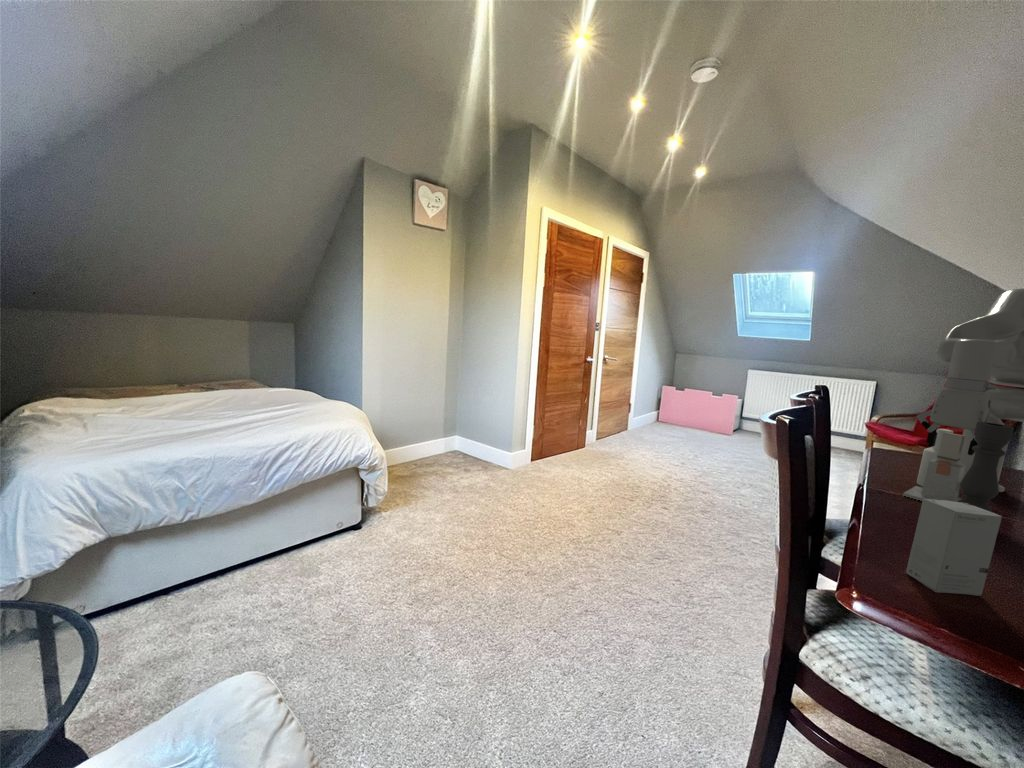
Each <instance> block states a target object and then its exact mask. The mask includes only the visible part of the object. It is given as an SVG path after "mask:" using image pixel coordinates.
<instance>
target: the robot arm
mask: <svg viewBox="0 0 1024 768" xmlns="http://www.w3.org/2000/svg"><path fill="white" fill-rule="evenodd" d="M936 351H937V352H936V356H937V359H938V360H939V361H940V362H941V363H942V364H945V365H949V368H948V373H947V375H946V376H947V377H946V381H945V385H944V388H943V387H941V388H940V390H939V391H938V394H937V396H936V399H935V401H934V404H933V406H932V409H929V410H926V411H924V412H922V413H919V414H917V415H916V416H915V418H916V419H917V420H918V421H919V422H920V424H921V425H922V426H923V427H924V428H925V430H926V431H927V432H928V433H927V437H926V441H925V442H926V443H927V444H928V447H927V448H930V447H933V446H935V442H936V438H937V434H938V433H937V432H936V431H937V429H940V427H941V426H945V427H950V428H955V429H961V430H963V432H962V435H964V436H965V439H964V443H963V447H962V452H961V456H960V460H959V464H964V465H966V466H965V470H964V474H963V478H964V476H965V475H966V473H967V472H968V470H969V469H970V467H971V466H972V463H973V459H974V455H975V452H974V450H973V449H972V447H973V446H976V445H977V442H976V440H975V435H974V432H975V428H976V423H977V422H988V423H996V424H1002V425H1006V424H1005V423H1004V422H1003V421H1002V420H1008V421H1015V422H1022V423H1024V288H1016V289H1015V288H1014V289H1010V290H1007V291H1004V292H1002V293H1001V294H999V295H998V296H997V297H996V298H995V299H994V302H992V304H991V306H990V307H989V308H988V310H987V311H986V313H985V314H984V315H983V316H981V317H977V318H974V319H971V320H969V321H966V322H964V323H961V324H958V325H956V326H954V327H952V328H951V329H949V331H948V332H947V334H946V335H945V336H944V337H943V339H942V341H941V342H940V344H939V345H938V347H937V350H936ZM1006 386H1007V387H1006ZM929 416H930V417H929ZM927 417H929V420H930V422H931V423H932V424H931V423H930V422H929V421H928V420H927V419H926V418H927ZM1009 442H1010V441H1008V444H1007V445H1005V446H1004V447H1003V448H1002V450H1003V451H1004V452H1005V453H1007V450H1008V446H1009ZM1005 457H1006V454H1005V455H1004V456H1001V457H1000V458H999V462H998V466H997V478H998V482H999V481H1000V476H1001V473H1002V469H1003V466H1004V462H1005ZM963 478H962V480H963ZM998 488H999V492H998V493H1003V492H1005V489H1006V488H1005V487H1004V486H1003V485H1001V484H999V483H998Z"/></svg>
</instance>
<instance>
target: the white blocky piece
mask: <svg viewBox="0 0 1024 768" xmlns="http://www.w3.org/2000/svg"><path fill="white" fill-rule="evenodd" d="M965 466H966V465H964V464H958V466H957V467H956V466H952V465H950V463H949V462H945V461H941V460H940V461H939V462H937V458H934V459H932V460H930V461H929V464H928V468H927V473H926V477H925V481H924V485H923V487H922V486H919V485H915V486H912V488H909V489H907V490H906V491H904V492H903V494H902V497H904V496H906V497H905V498H907V497H910V498H909V499H911V498H913V499H912V500H914V499H916V500H915V501H918V500H920V501H919V502H921V501H923V499H932V500H947V501H952V502H957V501H959V500H961V499H962V498H963V497H959V494H960V490H961V488H960V483H961V481H962V478H963V474H964V470H965Z"/></svg>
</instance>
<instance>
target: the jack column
mask: <svg viewBox="0 0 1024 768" xmlns="http://www.w3.org/2000/svg"><path fill="white" fill-rule="evenodd" d="M964 439H965V436H964V435H963V434H957V433H954V432H953V433H947V432H946V433H943V436H942V440H941V445H940V449H939V453H938V455H937V462H939V461H940V460H941V461H945V462H949V463H950V465H952V466H956V467H957V466H958V464H959V460H960V456H961V452H962V447H963V443H964Z"/></svg>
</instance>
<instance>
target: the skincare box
mask: <svg viewBox="0 0 1024 768" xmlns="http://www.w3.org/2000/svg"><path fill="white" fill-rule="evenodd" d="M1002 518H1003V516H1002V515H999V514H997V513H995V512H993V511H992V512H990V511H987V510H984V509H981V508H979V507H976V506H973V505H971V504H968V503H961V502H952V501H947V500H932V499H923V501H922V502H921V507H920V511H919V516H918V519H917V523H916V528H915V532H914V537H913V539H912V540H913V541H912V545H911V549H910V553H909V558H908V562H907V565H906V566H907V567H906V570H905V573H906V574H907V575H909V576H910V577H912V578H913V579H915V580H916V581H917V582H919V583H921V584H922V585H923V586H925V587H926V588H928V589H930V591H933V592H934V593H939V594H940V593H941V594H957V595H959V594H960V595H970V596H977V597H979V596H982V594H983V593H984V592H983V591H984V587H985V583H986V580H987V576H988V572H989V568H990V565H991V560H992V558H993V557H992V556H993V553H994V549H995V545H996V542H997V541H996V540H997V537H998V533H999V530H1000V525H1001V522H1002Z"/></svg>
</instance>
